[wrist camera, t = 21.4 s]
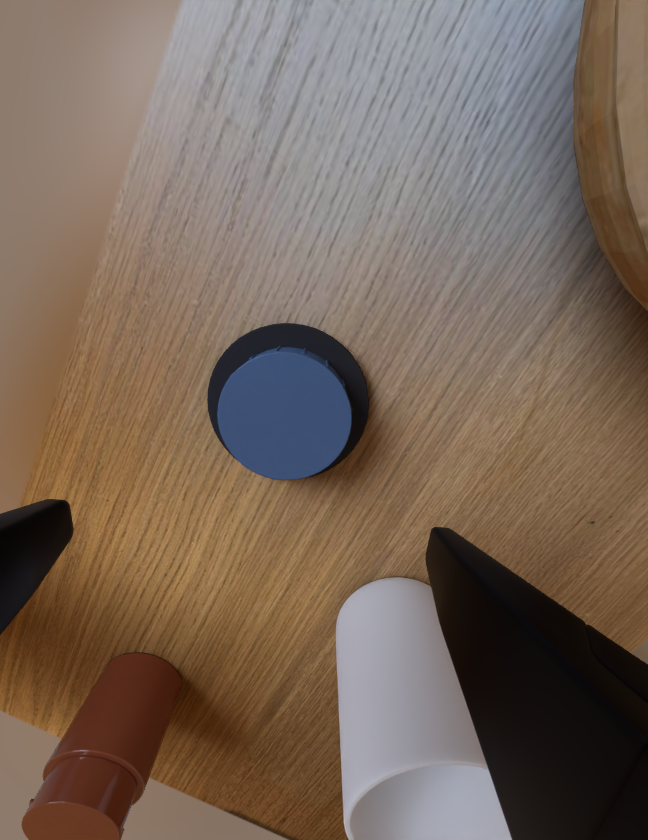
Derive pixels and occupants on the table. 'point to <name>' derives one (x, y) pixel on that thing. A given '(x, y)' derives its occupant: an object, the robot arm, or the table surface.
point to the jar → (106, 752)
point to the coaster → (300, 339)
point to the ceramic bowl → (615, 134)
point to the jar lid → (285, 414)
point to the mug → (407, 724)
